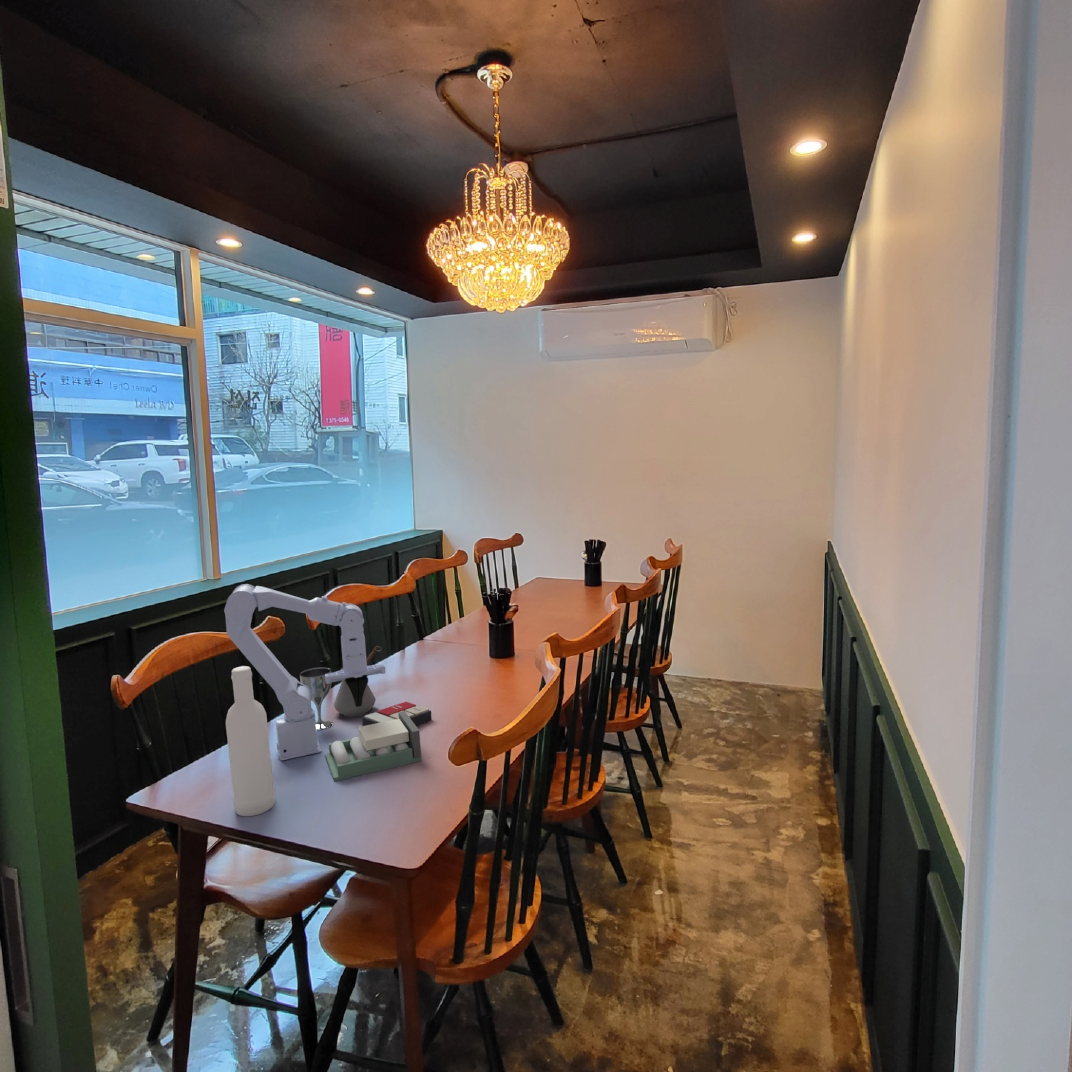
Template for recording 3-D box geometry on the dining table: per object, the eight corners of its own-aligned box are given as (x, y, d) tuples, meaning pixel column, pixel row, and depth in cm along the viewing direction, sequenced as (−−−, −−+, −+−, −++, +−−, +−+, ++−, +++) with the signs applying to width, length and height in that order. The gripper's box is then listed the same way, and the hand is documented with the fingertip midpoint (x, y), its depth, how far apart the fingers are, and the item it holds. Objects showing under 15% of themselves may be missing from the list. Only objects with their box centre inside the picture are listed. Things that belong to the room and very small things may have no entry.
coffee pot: (363, 721, 185) (359, 668, 183) (326, 718, 188) (321, 666, 186) (399, 693, 205) (395, 645, 203) (365, 691, 208) (361, 644, 206)
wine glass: (324, 717, 188) (320, 665, 186) (341, 723, 183) (336, 670, 181) (299, 727, 182) (294, 673, 180) (315, 733, 177) (310, 679, 175)
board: (366, 750, 156) (365, 740, 155) (359, 736, 164) (358, 727, 163) (408, 741, 160) (408, 731, 159) (399, 727, 168) (399, 718, 168)
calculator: (432, 708, 183) (387, 723, 171) (432, 723, 183) (387, 740, 172) (406, 699, 190) (361, 714, 178) (406, 714, 190) (361, 730, 179)
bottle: (263, 793, 147) (250, 660, 143) (283, 804, 142) (269, 666, 138) (227, 809, 141) (212, 670, 137) (246, 821, 136) (231, 677, 132)
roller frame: (334, 781, 151) (331, 749, 150) (325, 756, 163) (322, 727, 162) (421, 760, 159) (419, 730, 158) (406, 738, 172) (404, 710, 171)
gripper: (326, 662, 162) (331, 716, 164) (386, 652, 168) (390, 704, 170) (322, 655, 169) (327, 707, 170) (380, 645, 175) (384, 695, 176)
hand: (358, 705), depth 171 cm, fingers closed
